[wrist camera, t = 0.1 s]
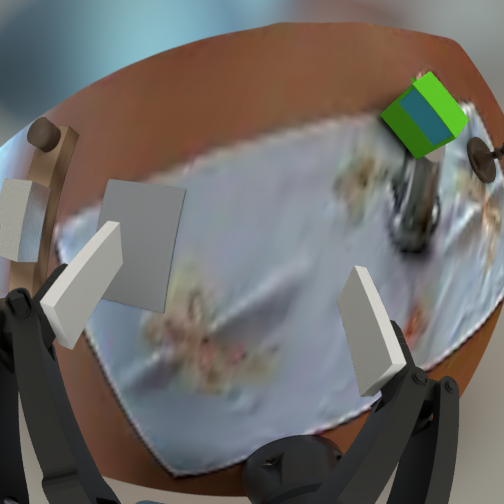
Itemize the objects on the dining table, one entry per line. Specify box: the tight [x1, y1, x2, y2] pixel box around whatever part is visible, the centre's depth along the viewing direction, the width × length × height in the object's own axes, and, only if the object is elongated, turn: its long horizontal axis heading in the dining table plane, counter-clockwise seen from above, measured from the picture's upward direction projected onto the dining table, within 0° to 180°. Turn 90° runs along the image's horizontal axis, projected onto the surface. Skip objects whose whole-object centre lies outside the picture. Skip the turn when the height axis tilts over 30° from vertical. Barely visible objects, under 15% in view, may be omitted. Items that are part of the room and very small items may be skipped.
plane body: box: [0, 117, 79, 310], centre depth 23 cm, size 26×5×10 cm, turn 170°
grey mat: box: [96, 179, 186, 313], centre depth 29 cm, size 14×10×1 cm
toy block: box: [380, 72, 469, 160], centre depth 28 cm, size 10×13×10 cm
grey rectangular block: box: [0, 179, 51, 262], centre depth 23 cm, size 9×6×4 cm, turn 170°
